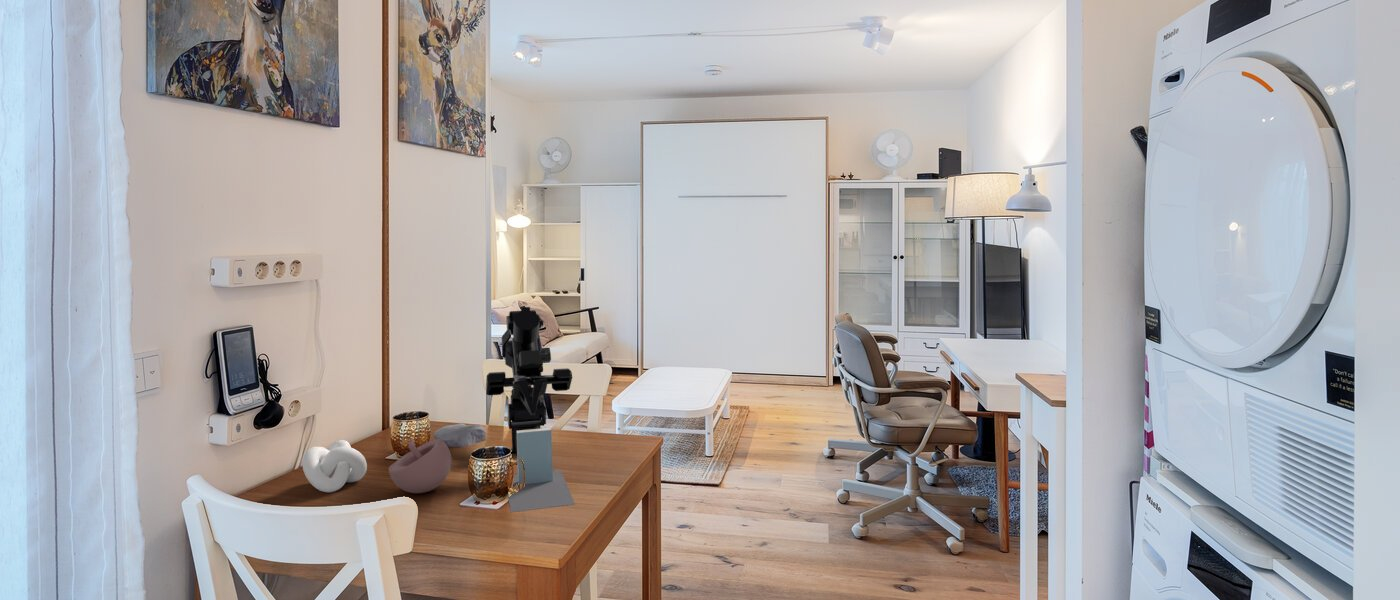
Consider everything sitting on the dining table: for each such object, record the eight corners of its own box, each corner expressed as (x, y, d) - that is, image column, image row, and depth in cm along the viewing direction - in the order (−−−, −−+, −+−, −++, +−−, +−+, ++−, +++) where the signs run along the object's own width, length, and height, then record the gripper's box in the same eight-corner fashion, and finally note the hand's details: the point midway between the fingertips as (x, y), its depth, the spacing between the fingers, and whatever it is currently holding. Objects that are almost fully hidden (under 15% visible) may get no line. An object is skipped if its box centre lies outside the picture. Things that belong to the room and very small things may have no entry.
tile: (518, 481, 147) (516, 430, 147) (551, 477, 150) (550, 427, 149) (518, 484, 146) (517, 433, 145) (552, 480, 148) (551, 429, 147)
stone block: (460, 456, 174) (490, 438, 182) (456, 438, 173) (486, 421, 181) (429, 451, 180) (460, 434, 189) (425, 434, 179) (456, 418, 188)
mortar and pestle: (391, 486, 147) (389, 432, 146) (452, 478, 151) (449, 427, 150) (388, 505, 136) (385, 448, 135) (453, 497, 140) (450, 441, 139)
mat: (504, 477, 151) (504, 475, 151) (560, 471, 155) (560, 469, 155) (510, 514, 131) (510, 512, 131) (575, 506, 134) (575, 503, 134)
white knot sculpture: (296, 485, 149) (294, 443, 148) (357, 472, 156) (355, 433, 156) (307, 499, 140) (305, 455, 139) (371, 485, 148) (369, 444, 147)
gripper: (486, 337, 153) (491, 398, 144) (570, 333, 160) (580, 392, 151) (484, 365, 162) (488, 424, 153) (564, 361, 168) (573, 417, 159)
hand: (533, 414), depth 154 cm, fingers closed
